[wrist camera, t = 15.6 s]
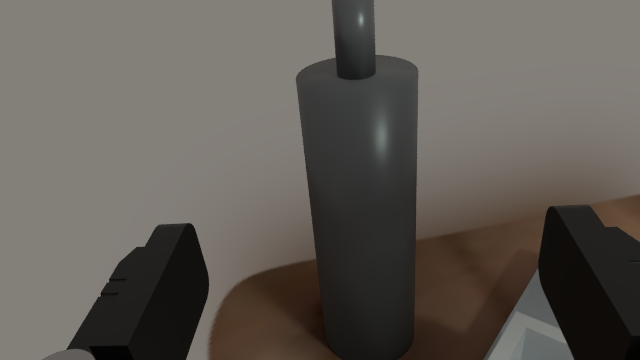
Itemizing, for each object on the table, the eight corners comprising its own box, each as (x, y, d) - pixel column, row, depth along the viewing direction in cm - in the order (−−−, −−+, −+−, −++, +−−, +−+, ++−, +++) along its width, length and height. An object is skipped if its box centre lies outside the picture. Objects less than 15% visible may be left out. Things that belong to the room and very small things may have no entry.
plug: (357, 286, 31) (338, -18, 22) (430, 320, 28) (443, -14, 19) (307, 338, 28) (260, 7, 19) (383, 382, 25) (371, 17, 16)
